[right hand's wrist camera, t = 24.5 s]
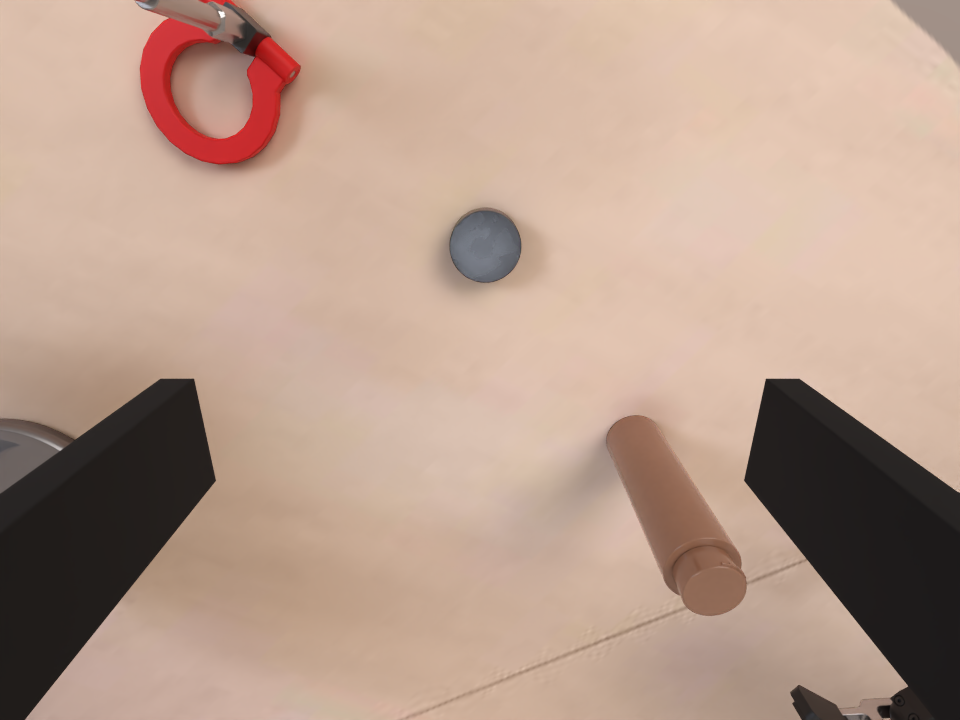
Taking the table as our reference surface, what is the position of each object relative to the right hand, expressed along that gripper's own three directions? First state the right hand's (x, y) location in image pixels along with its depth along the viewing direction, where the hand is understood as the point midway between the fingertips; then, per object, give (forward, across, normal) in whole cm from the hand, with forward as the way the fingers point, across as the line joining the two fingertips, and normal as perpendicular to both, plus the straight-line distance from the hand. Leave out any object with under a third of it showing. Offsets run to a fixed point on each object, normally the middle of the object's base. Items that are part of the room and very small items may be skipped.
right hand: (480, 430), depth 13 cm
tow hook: (+27, -16, +10) cm, 33 cm away
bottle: (+27, +12, -16) cm, 33 cm away
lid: (+25, 0, 0) cm, 25 cm away
